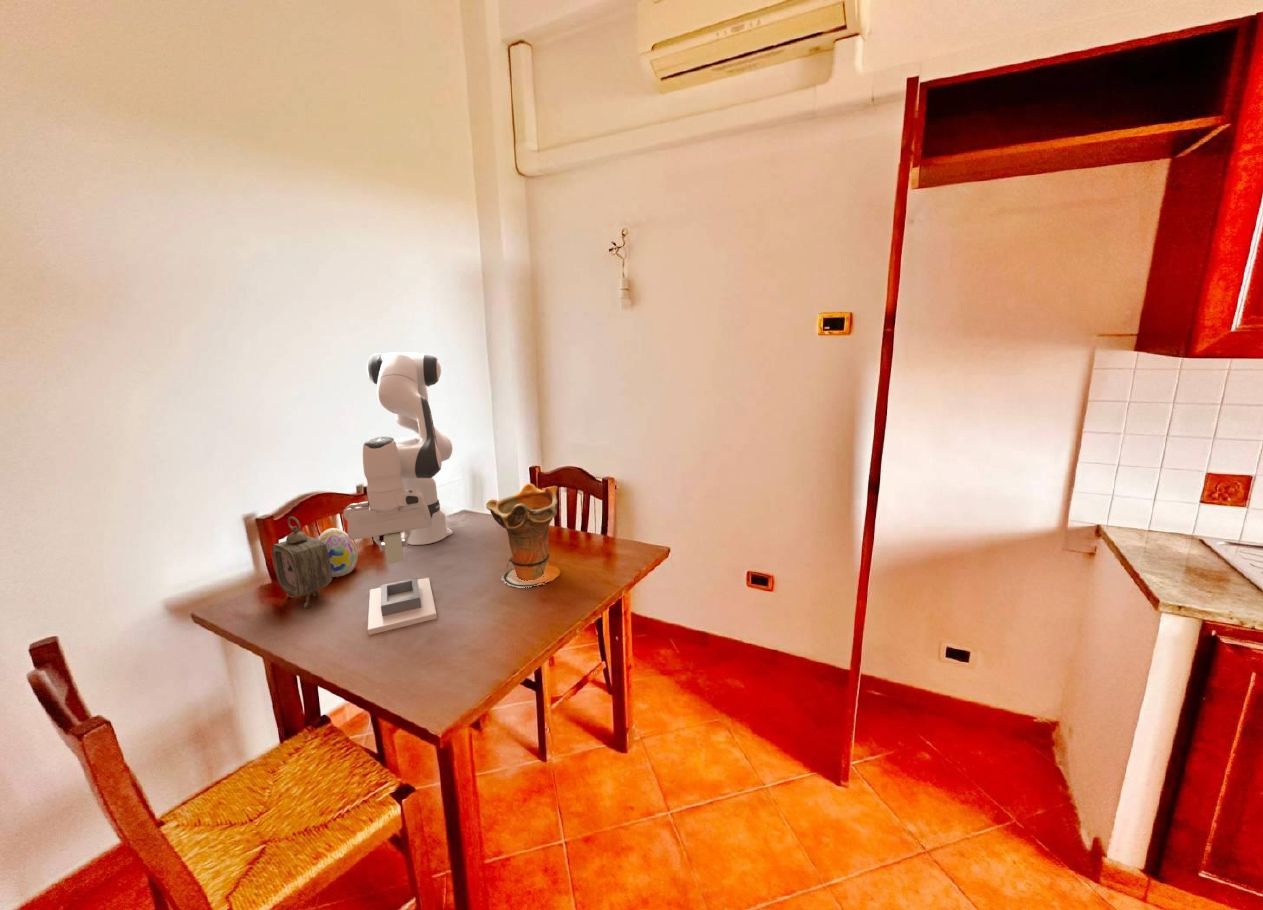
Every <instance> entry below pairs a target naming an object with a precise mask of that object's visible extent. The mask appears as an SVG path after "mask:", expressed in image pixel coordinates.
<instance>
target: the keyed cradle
mask: <svg viewBox="0 0 1263 910" xmlns="http://www.w3.org/2000/svg"><path fill="white" fill-rule="evenodd" d="M368 603H369V604H368V618H367V619H368V620H367V634H368V636H370V635H374V634H379V633H383V632H387V631H391V630H392V631H393V630H395V629H400V628H402V627H403V628H404V627H407V626H412V625H416V624H420V623H423V622H424V623H425V622H427V621H432V620H436V619H437V617H438V616H437V611H436V605H435V600H434V597H433V592H432V586H431V582H430V577H423V578H420V579H418V577H413V578H409V579H403V580H399V581H398V580H397V581H393V582H388V583H384V584H381V585H380V587H376V588H371V589H369V601H368Z"/></svg>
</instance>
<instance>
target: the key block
mask: <svg viewBox="0 0 1263 910" xmlns="http://www.w3.org/2000/svg"><path fill="white" fill-rule="evenodd" d="M401 535H402V532H397V533H391V534H385V535H383V543H384V544H385V550H384V551H385V556H386V565H389V564H394V563H399V562H404V561H405V557H404V549H403V548H404V547H402V542H401Z"/></svg>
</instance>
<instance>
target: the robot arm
mask: <svg viewBox="0 0 1263 910" xmlns="http://www.w3.org/2000/svg"><path fill="white" fill-rule="evenodd" d="M366 364H367V365H366V373H367V376H368V378H369V380H370V382H372V383H373V384H374V385H377V387H376V395H377V396H376V397H377V400H378V402H379V404H380V405H381V406H382V407H383V408H384V409H385V410H387V411H388V412H390V413H392V414H394V415H395V421H396V423H397V424H398V425H399V426H400V427H403V428H404V429H408V430H411V431H414V432H415V435H414V436H408V437H399V438H393V437H391V436H377V437H373V438H370V439H367V440H366V441H365V442H363V445H362V446H363V447H362V465H363V466H362V467H363V473H364V477H365V479H366V483H367V485H366V492H367V493H366V495H367V500H368V501H362V502H359V503H350V504H349V505H348V506H345V508H344V509H343V513H342V514H343V518H344V520H345V521H346V522H347V534H348V537H349V538H350V539H352V540H353V541H355V540H361V539H366V538H371V537H372V539H373V541H374V543H375V544H377V545H378V548H379V551H380V552H383V551H385V544H384V542H381V540H380V536H384V535H385V534H391V533H397V532H400V533H401V542H402V547H403V548H405V547H408V546H409V545H412V546H413V545H415V546H420V545H428V544H432V543H436V542H439V541H441V540H443V539H445V538H447V537H448V536H451V535H453V530H452V529H450V527H449V526H448V525H447V521H446V519H447V518H446V515H445V513H444V512H443V511H442V510H441V503H440V500H439V499H438V491H437V484H436V480H435V479H434V477H435V476H436V475H437V474H438V473H439V472H440V471H441V469H442V465H443V464H442V462H444V461H447V460H449V459H450V458H451V456H452V454H453V444H452V441H451V440H450V439H449V437H448V436H446V435H445V434H444V433H441V432H440V431H439V430H438V429H437V428H436V427H435V426H434V420H433V417H432V416H433V415H432V411H431V408H430V405H429V392H428V388H429V387H430V386H433V385H436V384H437V383H438V382H439V380H440V378H441V374H442V373H441V372H442V368H441V365H440V361H439V360H438V358H437V356H436V355H434V354H431V353H427V352H425V353H419V352H412V351H411V352H408V351H407V352H406V351H404V352H401V351H400V352H399V351H396V352H388V353H387V352H386V353H383V352H377V353H373V354H372V355H371V356H369V358H368V360H367V363H366Z"/></svg>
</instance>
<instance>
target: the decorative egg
mask: <svg viewBox="0 0 1263 910" xmlns="http://www.w3.org/2000/svg"><path fill="white" fill-rule="evenodd" d="M317 539H318V540H320V541H322V542H323V543H325V544H326V547H327V550H328V553H329V559H330V564H331V571H332V577H336V578H340V576H341V577H343V576H346V575H348V574H350V573H351V572H352V571H354V569H355V567H356V565H357V561H358V549H357V546H356V543H355V542H354V541H355V540H352V539H350V538H349V537H348V532H345V531H344V530H343V529H339V528H336V527H329V528H327V529H326V530H324V531H323V532H322V533H321V534H320V535H319V536H318V538H317Z"/></svg>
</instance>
